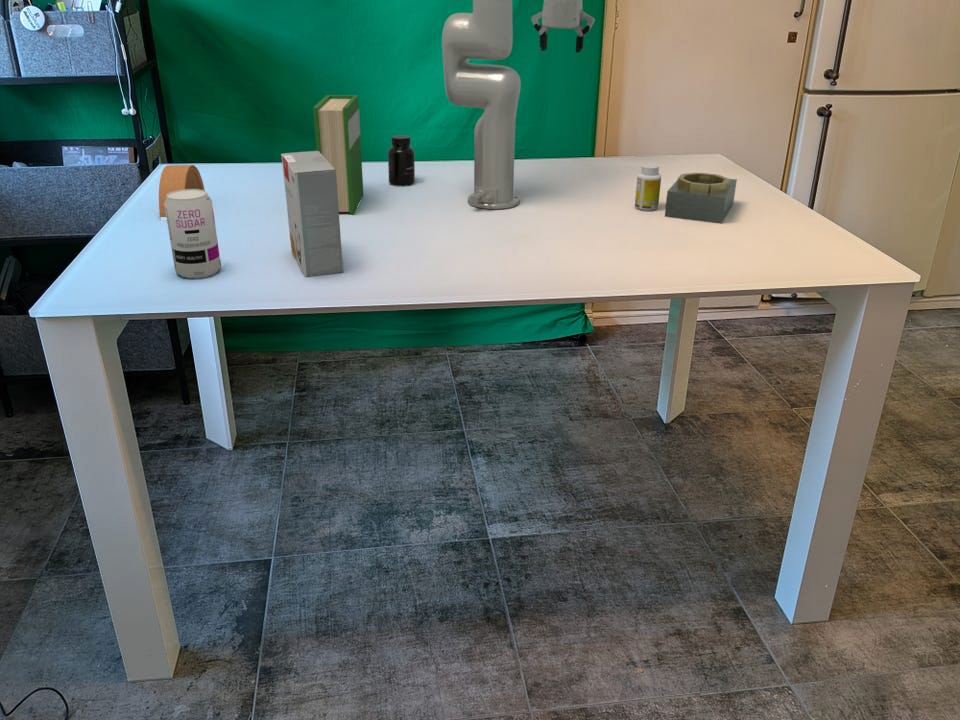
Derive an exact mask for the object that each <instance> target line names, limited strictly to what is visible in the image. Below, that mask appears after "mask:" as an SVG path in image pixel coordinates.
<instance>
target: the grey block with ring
mask: <svg viewBox="0 0 960 720" xmlns="http://www.w3.org/2000/svg"><path fill="white" fill-rule="evenodd" d="M737 182H738V180H737V179H736V178H729V177H726V176H723V175H720V174H716V173H707V172H690V173H689V172H687V173H682V174H680V175H679V176H678V177H677V180H676V181H675V182H674V183H673V184H672V185H671V187H670V188H669V189H668V190H667V193H666V201H665V209H664V217H665V218H672V219H673V218H674V219H681V220H689V221H696V222H697V221H698V222H707V223H714V224H720V225H721V224H723V223H724V221H725V219H726V217H727V216H728V214H729V212H730V211H731V209H732V207H733V205H734V202H735V196H736V195H735V194H736V189H737V188H736V187H737Z"/></svg>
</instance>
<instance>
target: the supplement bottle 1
mask: <svg viewBox="0 0 960 720" xmlns="http://www.w3.org/2000/svg"><path fill="white" fill-rule="evenodd" d="M411 143H412V142H411V137H410V136H408V135H401V134H400V135H393V136H391V143H390V144H391V147H390V148H388V150H387V162H388V182H389V185H392V184H393V185H392V186H395V185H402V186H401V187H405V186H404V185H408V186H412V185H414V184H415V181H416V179H415V177H416V176H415V174H416V172H415V171H416V170H415V150H414V148H413V147H412V146H410V145H411ZM413 183H414V184H413ZM411 184H412V185H411Z"/></svg>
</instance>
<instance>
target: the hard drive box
mask: <svg viewBox="0 0 960 720" xmlns="http://www.w3.org/2000/svg"><path fill="white" fill-rule="evenodd" d="M280 156H281V163H282V172H283V183H284V192H285V199H286V201H285V202H286V212H287V220H288V221H287V222H288V231H289V240H290V247H291V252H292V254H293V257H294V259H295V260H296V262H297V264H298V266H299V268H300V271H301V272H302V274H303V276H304V277H306V278H308V277H314V276H315V277H316V276H323V275H334V274H341V273H343V272H344V267H343V254H342V253H343V251H342V239H341V237H342V236H341V225H340V224H341V223H340V214H339V213H340V212H339V209H338V195H337V182H336V170H335V169H334V167H333V166H332V165H331V164H330V163H329V162H328V161H327V160H326V159H325V158H324V156H323V155H322V154H321V153H320V152H319V151H316V150H313V151H312V150H311V151H298V152H287V153H286V152H285V153H281V154H280Z"/></svg>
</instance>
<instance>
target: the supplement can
mask: <svg viewBox="0 0 960 720" xmlns="http://www.w3.org/2000/svg"><path fill="white" fill-rule="evenodd" d="M204 190H205V189H204ZM204 190H200V189H183V190H177V191H173V192H170V193H168V194H167V195H166V196H167V197H166V200H165V203H164V206H165V212H166V218H167V220H166V223H167V230H168V234H169V235H168V236H169V241H170V247H171V252H172V259H173V264H174V265H173V266H174V271H175V273H176V274H178V275H179V276H180V275H181V276H180V277H182V278H184V277H186V279H191V278H194V280H195V279H204V278H208V277H209V278H210V277H212V276H214V275H216V274H217V273H218V272H219V271H220V269H221V267H222V264H221V257H220V248H219V242H218V235H217V229H216V228H217V227H216V221H215V214H214V213H215V212H214V206H213V201H212V199H211V198H210V196H209V195H208V192H207V191H206V190H205V191H204Z"/></svg>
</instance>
